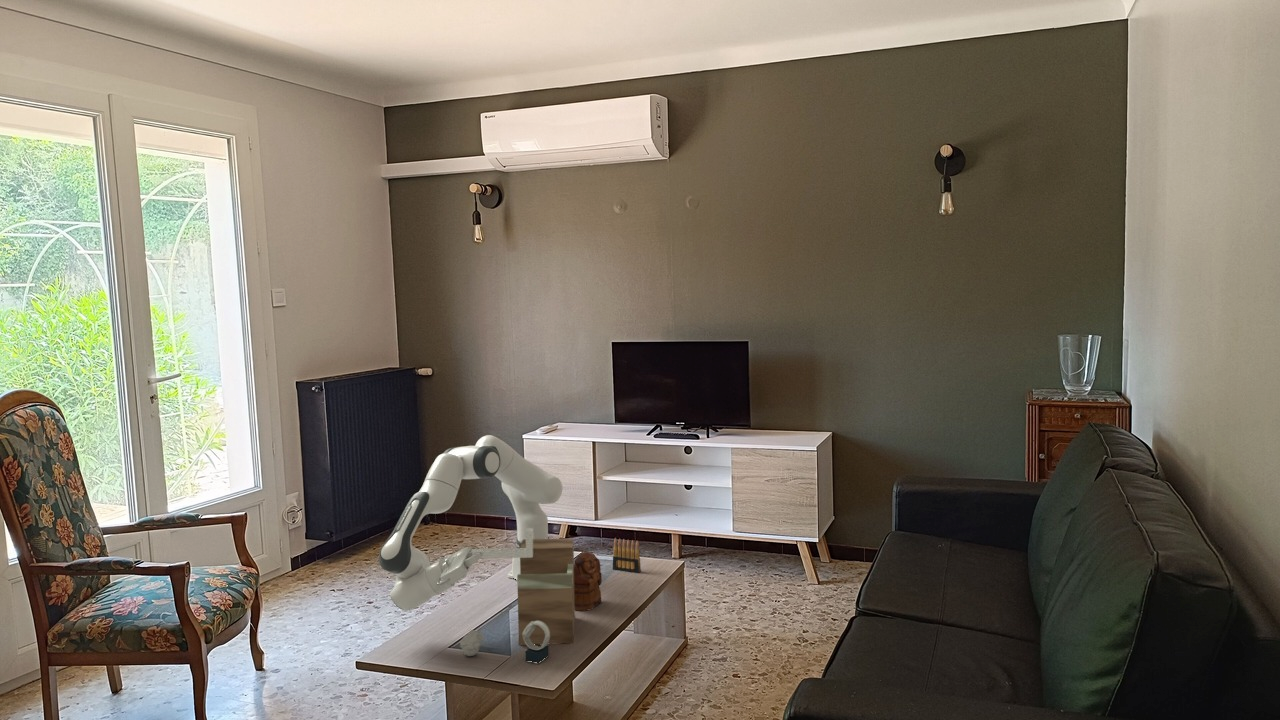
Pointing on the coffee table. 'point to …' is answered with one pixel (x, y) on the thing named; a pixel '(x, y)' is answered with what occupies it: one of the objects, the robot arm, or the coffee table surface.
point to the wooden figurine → (587, 581)
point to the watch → (537, 650)
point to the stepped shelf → (547, 590)
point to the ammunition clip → (626, 557)
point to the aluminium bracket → (510, 549)
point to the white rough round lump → (471, 643)
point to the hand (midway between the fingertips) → (482, 552)
